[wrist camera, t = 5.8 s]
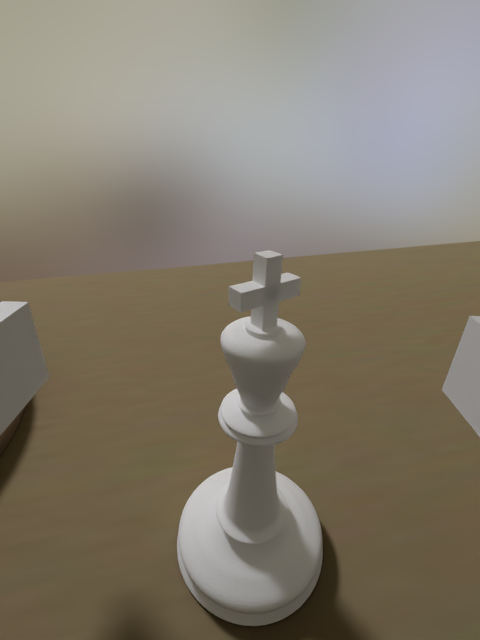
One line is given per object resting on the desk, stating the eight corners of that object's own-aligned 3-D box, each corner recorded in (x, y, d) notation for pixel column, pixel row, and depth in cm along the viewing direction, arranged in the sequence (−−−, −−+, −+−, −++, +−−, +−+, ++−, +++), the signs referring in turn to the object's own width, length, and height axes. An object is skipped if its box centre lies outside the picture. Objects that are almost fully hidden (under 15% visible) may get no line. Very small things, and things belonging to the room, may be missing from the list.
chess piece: (353, 556, 11) (444, 266, 7) (231, 674, 9) (242, 334, 4) (260, 456, 15) (278, 221, 10) (153, 519, 12) (113, 242, 8)
